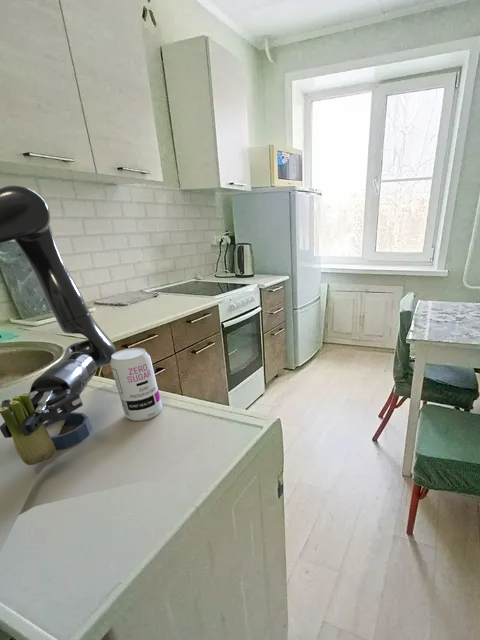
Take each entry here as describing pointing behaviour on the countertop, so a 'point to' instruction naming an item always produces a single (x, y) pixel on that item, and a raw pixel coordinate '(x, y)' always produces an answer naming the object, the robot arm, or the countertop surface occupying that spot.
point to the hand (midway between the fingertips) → (15, 431)
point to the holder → (74, 435)
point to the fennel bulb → (33, 445)
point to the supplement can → (136, 383)
